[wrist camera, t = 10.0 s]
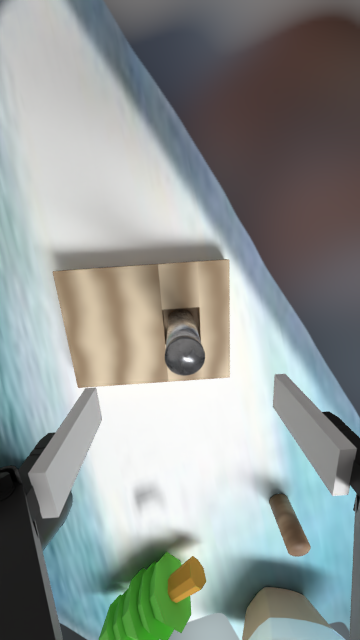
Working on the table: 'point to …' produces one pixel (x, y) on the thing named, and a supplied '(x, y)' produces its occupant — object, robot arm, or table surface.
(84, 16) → the table surface
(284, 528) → the walnut dowel
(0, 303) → the table surface
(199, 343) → the pin
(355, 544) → the robot arm
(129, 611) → the decorative tree
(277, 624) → the bowl
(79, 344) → the board
